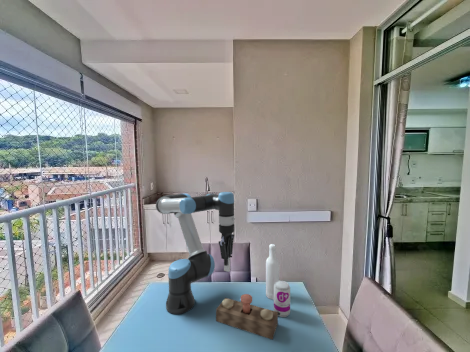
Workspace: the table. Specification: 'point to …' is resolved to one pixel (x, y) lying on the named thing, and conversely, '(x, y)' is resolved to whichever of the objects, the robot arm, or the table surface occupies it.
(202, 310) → the table surface
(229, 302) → the maple plug
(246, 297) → the brick-red plug
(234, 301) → the socket board
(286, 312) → the supplement can
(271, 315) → the maple plug
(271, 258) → the bottle
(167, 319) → the table surface
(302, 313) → the table surface
